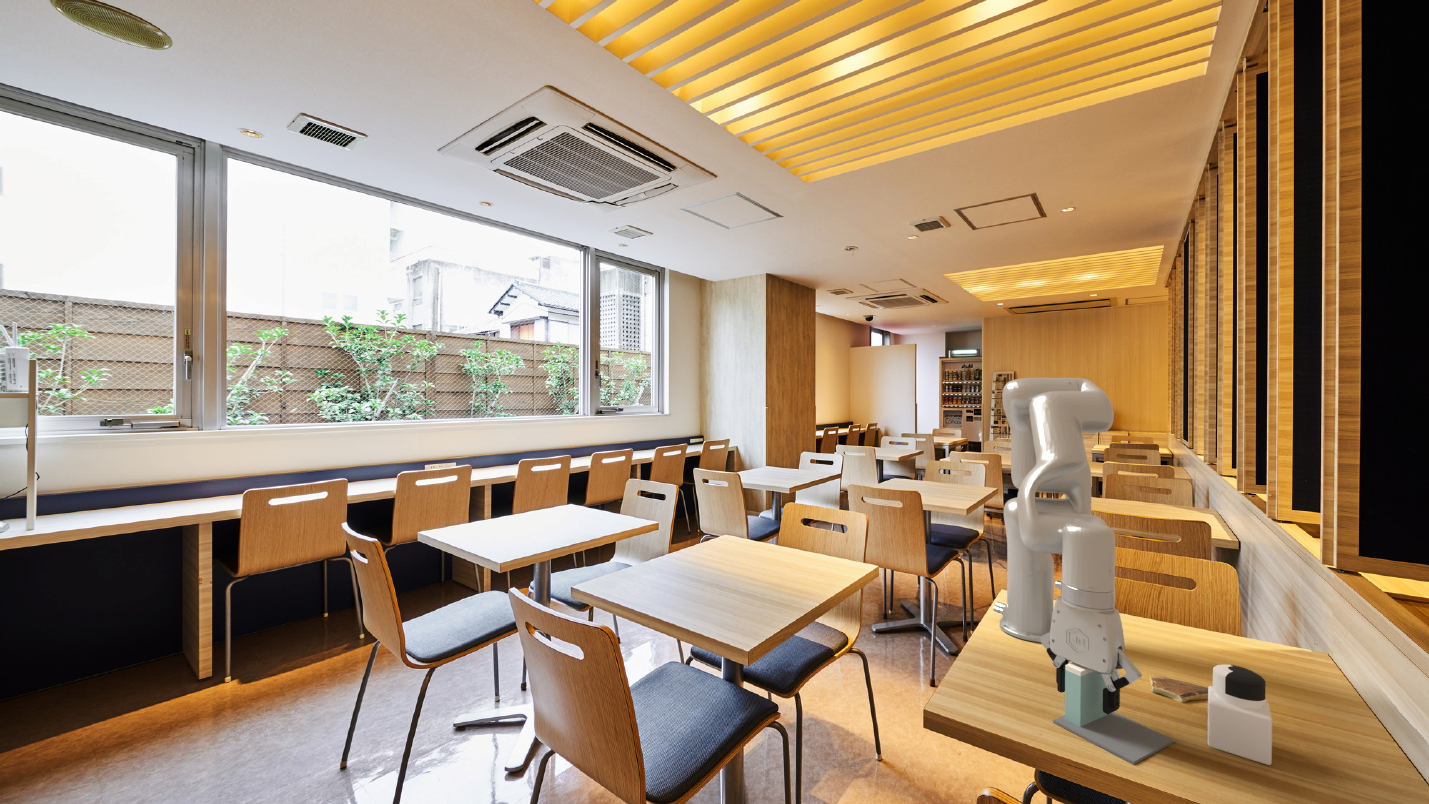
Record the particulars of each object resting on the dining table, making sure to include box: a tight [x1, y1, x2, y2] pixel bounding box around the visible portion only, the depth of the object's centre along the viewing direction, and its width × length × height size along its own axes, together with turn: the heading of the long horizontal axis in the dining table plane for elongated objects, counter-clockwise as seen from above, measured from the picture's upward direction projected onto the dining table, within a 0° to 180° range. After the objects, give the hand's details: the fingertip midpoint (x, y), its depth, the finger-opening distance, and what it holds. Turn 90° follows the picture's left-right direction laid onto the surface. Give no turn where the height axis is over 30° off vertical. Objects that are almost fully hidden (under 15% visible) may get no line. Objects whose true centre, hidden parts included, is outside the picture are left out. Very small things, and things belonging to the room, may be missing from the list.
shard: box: [1149, 674, 1208, 703], centre depth 102 cm, size 11×8×2 cm
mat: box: [1052, 711, 1175, 765], centre depth 91 cm, size 12×12×1 cm
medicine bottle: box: [1207, 664, 1273, 766], centre depth 88 cm, size 7×7×12 cm
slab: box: [1064, 662, 1108, 727], centre depth 95 cm, size 2×8×9 cm, turn 117°
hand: (1086, 699), depth 94 cm, fingers open, 6 cm apart
